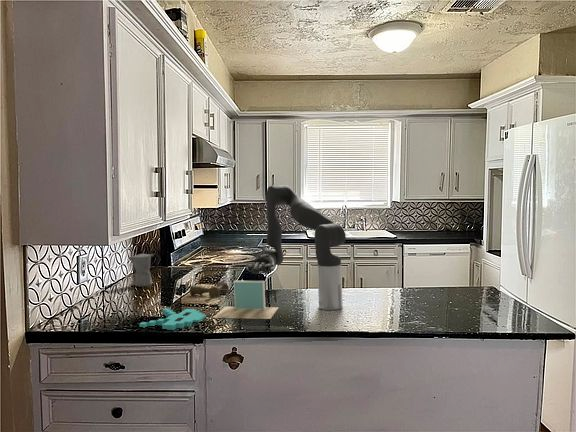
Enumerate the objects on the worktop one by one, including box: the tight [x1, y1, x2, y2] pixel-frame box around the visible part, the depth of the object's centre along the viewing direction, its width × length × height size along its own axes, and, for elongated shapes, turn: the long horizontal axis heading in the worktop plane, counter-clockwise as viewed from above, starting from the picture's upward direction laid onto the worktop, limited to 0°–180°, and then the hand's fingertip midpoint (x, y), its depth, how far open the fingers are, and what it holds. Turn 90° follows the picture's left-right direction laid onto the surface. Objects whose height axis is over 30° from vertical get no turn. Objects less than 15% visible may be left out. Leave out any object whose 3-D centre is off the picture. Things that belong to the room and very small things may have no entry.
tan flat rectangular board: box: [212, 306, 279, 320], centre depth 176 cm, size 22×15×1 cm
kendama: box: [189, 281, 232, 299], centre depth 208 cm, size 6×10×20 cm
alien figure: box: [138, 307, 207, 331], centre depth 171 cm, size 20×2×20 cm
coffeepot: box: [128, 249, 161, 288], centre depth 236 cm, size 15×9×18 cm, turn 112°
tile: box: [233, 280, 266, 310], centre depth 180 cm, size 12×2×11 cm, turn 80°
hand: (254, 271), depth 190 cm, fingers closed
